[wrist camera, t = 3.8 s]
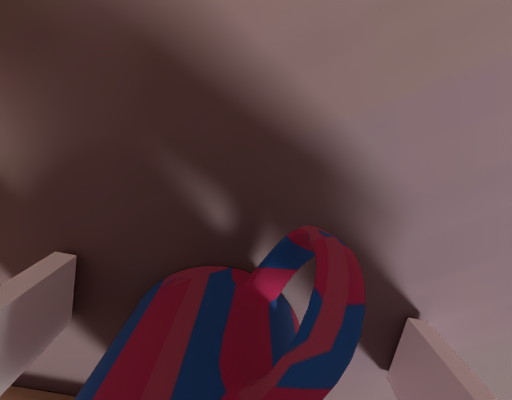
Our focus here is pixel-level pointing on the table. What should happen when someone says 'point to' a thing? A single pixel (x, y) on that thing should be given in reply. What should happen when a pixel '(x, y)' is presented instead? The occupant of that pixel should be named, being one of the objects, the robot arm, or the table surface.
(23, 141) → the table surface
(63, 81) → the table surface
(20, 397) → the wooden peg board
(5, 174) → the table surface
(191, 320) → the cup
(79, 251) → the table surface
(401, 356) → the robot arm
